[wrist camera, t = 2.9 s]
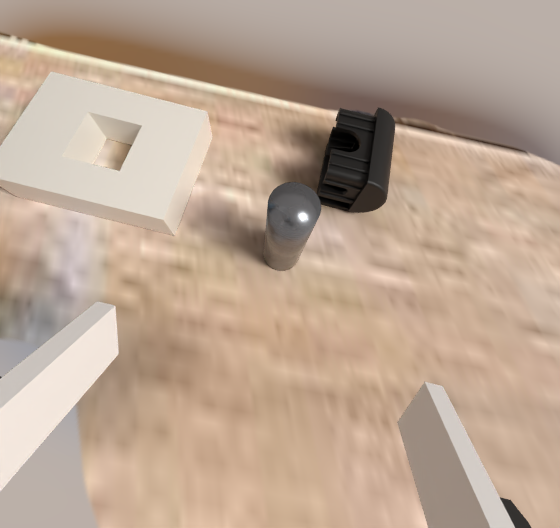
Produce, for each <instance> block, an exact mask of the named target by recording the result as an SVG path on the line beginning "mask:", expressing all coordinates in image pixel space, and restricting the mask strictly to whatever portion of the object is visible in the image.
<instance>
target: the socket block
mask: <svg viewBox="0 0 560 528" xmlns="http://www.w3.org/2000/svg"><path fill="white" fill-rule="evenodd" d="M212 138H213V137H212V132H211V127H210V122H209V117H208V112H207V111H203V110H200V109H196V108H192V107H188V106H184V105H180V104H176V103H172V102H168V101H164V100H161V99H157V98H153V97H149V96H145V95H141V94H137V93H133V92H129V91H125V90H122V89H118V88H114V87H110V86H106V85H102V84H98V83H94V82H90V81H86V80H82V79H79V78H75V77H71V76H67V75H63V74H59V73H55V72H50V74H49V75H48V77H47V78H46V80H45V81H44V83H43V84H42V86H41V87H40V88H39V90H38V91H37V93H36V94H35V96H34V97H33V99H32V100H31V102H30V103H29V105H28V106H27V108H26V109H25V111H24V112H23V113H22V115H21V116H20V118H19V119H18V121H17V122H16V124H15V125H14V127H13V128H12V130H11V131H10V133H9V134H8V135H7V137H6V138H5V140H4V141H3V143H2V144H1V146H0V187H2V188H3V189H5V190H7V191H8V192H10V193H11V194H13V195H14V196H17V197H21V198H25V199H29V200H33V201H37V202H41V203H45V204H49V205H53V206H57V207H61V208H65V209H69V210H73V211H77V212H81V213H85V214H89V215H93V216H97V217H101V218H105V219H109V220H113V221H117V222H121V223H125V224H129V225H133V226H137V227H141V228H145V229H149V230H153V231H157V232H161V233H165V234H169V235H173V236H175V234H176V231H177V229H178V226H179V223H180V221H181V218H182V216H183V213H184V210H185V208H186V205H187V203H188V200H189V197H190V195H191V192H192V190H193V187H194V184H195V182H196V179H197V177H198V174H199V171H200V169H201V166H202V164H203V161H204V158H205V156H206V153H207V151H208V148H209V146H210V143H211V140H212ZM106 139H110V140H114V141H118V142H122V143H126V144H130V145H132V147H131V149H130V151H129V153H128V155H127V157H126V159H125V161H124V163H123V165H122V167H121V169H120V171H118V170H114V169H110V168H106V167H102V166H98V165H94V162H95V160H96V158H97V156H98V154H99V153H100V151H101V149H102V147H103V145H104V143H105V141H106Z"/></svg>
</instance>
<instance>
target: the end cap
mask: <svg viewBox="0 0 560 528" xmlns="http://www.w3.org/2000/svg"><path fill="white" fill-rule="evenodd" d="M336 121H337V124H336V127H333V129H332V131H331V134H330V138H329V142H328V144H327V147H326V152H325V156H324V161H323V166H322V171H321V176H320V180H319V185H318V190H317V196H318V197H319V200H320V203H321V205H325V206H329V207H333V208H338V209H342V210H346V211H350V212H358V213H360V212H369V211H373V210H376V209H378V208H380V207H381V206H382V205H383V204H384V203H385V202H386V199H387V194H388V185H389V176H390V168H391V159H392V150H393V142H394V133H395V122H394V119H393V117H392V116H391V115H390V114H389V113H388V112H387V111H386V110H384V109H381V108H378V109H377V111H376V113H375V115H374V116H369V115H365V114H361V113H357V112H353V111H349V110H345V109H341V108H340V109H339V112H338V114H337V117H336Z"/></svg>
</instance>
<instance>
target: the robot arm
mask: <svg viewBox="0 0 560 528" xmlns="http://www.w3.org/2000/svg"><path fill="white" fill-rule="evenodd" d="M118 354H119V352H118V337H117V322H116V308H115V306H114V305H110V304H106V303H102V302H98V301H97V302H96V303H94V304H93V305H92V306H91V307H89V308H88V309H87V310H86V311H84V312H83V313H82V314H81V315H79V316H78V317H77V318H76V319H74V320H73V321H72V322H71V323H69V324H68V325H67V326H66V327H64V328H63V329H62V330H61V331H59V332H58V333H57V334H56V335H54V336H53V337H52V338H51V339H49V340H48V341H47V342H46V343H44V344H43V345H42V346H41V347H39V348H38V349H37V350H36V351H34V352H33V353H32V354H31V355H29V356H28V357H27V358H26V359H24V360H23V361H22V362H21V363H20V364H18V365H17V366H16V367H14V368H13V369H12V370H11V371H9V372H8V373H7V374H6V375H4V376H3V377H0V491H1V490H2V489H3V488H4V486H5V485H6V484H7V483H8V482H9V481H10V479H11V478H12V477H13V476H14V475H15V474H16V473H17V471H18V470H19V469H20V468H21V467H22V465H23V464H24V463H25V462H26V461H27V460H28V459H29V457H30V456H31V455H32V454H33V453H34V451H36V449H37V448H38V447H39V446H40V445H41V444H42V442H43V441H44V440H45V439H46V438H47V437H48V435H49V434H50V433H51V432H52V431H53V429H54V428H55V427H56V426H57V425H58V424H59V423H60V421H61V420H62V419H63V418H64V417H65V416H66V415H67V413H68V412H69V411H70V410H71V409H72V408H73V406H74V405H75V404H76V403H77V402H78V401H79V399H80V398H81V397H82V396H83V395H84V394H85V392H86V391H87V390H88V389H89V388H90V387H91V385H92V384H93V383H94V382H95V381H96V380H97V378H98V377H99V376H100V375H101V374H102V373H103V372H104V370H105V369H106V368H107V367H108V366H109V365H110V363H111V362H112V361H113V360H114V359H115V358H116V356H117V355H118ZM397 423H398V426H399V429H400V433H401V436H402V440H403V443H404V446H405V450H406V453H407V457H408V460H409V464H410V467H411V470H412V474H413V477H414V481H415V484H416V487H417V491H418V494H419V498H420V501H421V504H422V508H423V511H424V515H425V518H426V521H427V525H428V528H531V526H530V525H529V523H528V522H527V520H526V519H525V518H524V517H523V515H522V514H521V513H520V511H519V510H518V509H517V508H516V506H515V505H514V504H513V503H512V501H511V500H508V499H504V498H500V497H499V495H498V493H497V491H496V489H495V487H494V485H493V483H492V482H491V480H490V478H489V476H488V474H487V472H486V470H485V468H484V466H483V464H482V462H481V460H480V458H479V456H478V454H477V452H476V450H475V448H474V446H473V444H472V442H471V441H470V439H469V437H468V435H467V433H466V431H465V429H464V427H463V425H462V423H461V421H460V419H459V417H458V415H457V413H456V411H455V409H454V407H453V405H452V403H451V401H450V400H449V398H448V396H447V394H446V392H445V390H444V388H443V386H440V385H436V384H432V383H428V382H424V384H423V385H422V387H421V388H420V390H419V391H418V393H417V394H416V395H415V397H414V398H413V400H412V401H411V403H410V404H409V406H408V407H407V409H406V410H405V412H404V413H403V415H402V416H401V418H400V419H399V420H398V422H397Z"/></svg>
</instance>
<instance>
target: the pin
mask: <svg viewBox="0 0 560 528" xmlns="http://www.w3.org/2000/svg"><path fill="white" fill-rule="evenodd" d="M320 212H321V203H320V200H319V197H318V196H317V194H316V193H315V192H314V191H313V190H312V189H311V188H310V187H308V186H306V185H304V184H301V183H297V182H289V183H284V184H282V185H280V186H278V187H277V188H275V189H274V190H273V192H272V193H271V195H270V197H269V200H268V209H267V220H266V231H265V242H264V259H265V261H266V263H267V264H268V265H269V266H270V267H271V268H273V269H275V270H278V271H285V270H289V269H291V268H292V267H293V266H294V265H295V264H296V263H297V261H298V259H299V257H300V255H301V253H302V251H303V248H304V246H305V244H306V242H307V240H308V238H309V236H310V234H311V232H312V230H313V228H314V226H315V224H316V222H317V220H318V218H319V215H320Z"/></svg>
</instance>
